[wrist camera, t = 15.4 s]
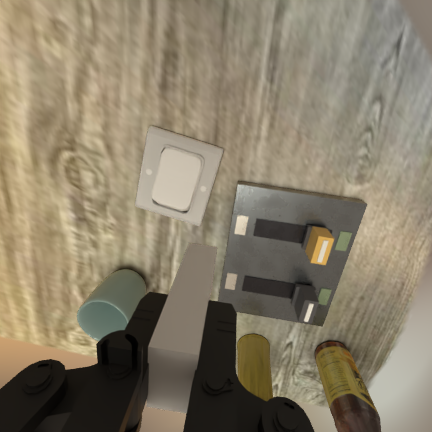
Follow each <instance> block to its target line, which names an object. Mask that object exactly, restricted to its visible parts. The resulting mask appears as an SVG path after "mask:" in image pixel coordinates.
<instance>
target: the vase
mask: <svg viewBox="0 0 432 432" xmlns="http://www.w3.org/2000/svg"><path fill="white" fill-rule="evenodd" d="M237 349H238V379H239V381H240V383H241V384H242V385H243V386H244V387H245V388H246V389H247V390H248V391H249V392H251V393H252V394H254V395H256V396H257V397H259V398H261V399H263V400H265V401H268V400H269V399H271V398H273V391H272V378H271V367H270V345H269V343H268V341H267V340H266V339H265V338H264V337H262V336H260V335H256V334H249V335H245V336H243V337H242V338H241V339H240V340H239V341H238V344H237Z"/></svg>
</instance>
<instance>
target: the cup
mask: <svg viewBox="0 0 432 432" xmlns="http://www.w3.org/2000/svg"><path fill="white" fill-rule="evenodd" d="M145 295H146V285H145V282H144V280H143V279H142V277H141V276H140V275H139V274H138V273H136V272H135V271H133V270H130V269H121V270H118V271H116V272H113V273H112V274H110V275H109V276H108V277H106V278H105V279H104V280H103V281H102V282H101V283H100V284H99V285H98V286H97V287H96V288H95V290H94V291H93V292H92V293H91V294H90V295H89V297H88V298H87V299H86V300H85V301H84V303H83V304H82V305H81V307H80V308H79V310H78V313H77V320H78V323H79V325H80V327H81V328H82V329H83V331H84V332H85V333H86V334H88V335H89V336H90V337H92V338H93V339H95V340H97V341H100V340H101V339H102V338H103V337H104V336H106V335H107V334H109V333H111V332H115V331H118V330H125V328H126V326H127V324H128V322H129V320H130V318H131V317H132V315H133V313H134V311H135V310H136V307H137V305H138V303H139V301H140V300H141V299H142V298H143V297H144V296H145Z"/></svg>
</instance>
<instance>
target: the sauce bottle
mask: <svg viewBox="0 0 432 432" xmlns="http://www.w3.org/2000/svg"><path fill="white" fill-rule="evenodd" d="M315 359H316V364H317V367H318V371H319V374H320V378H321V381H322V384H323V388H324V391H325V394H326V398H327V401H328V404H329V408H330V411H331V414H332V416H333V418H334V421H335V426H336V428H337V431H338V432H381V425H380V417H379V414H378V412H377V410H376V408H375V406H374V404H373V401H372V399H371V397H370V395H369V393H368V390H367V388H366V386H365V384H364V382H363V379H362V377H361V375H360V373H359V371H358V369H357V367H356V364H355V362H354V360H353V358H352V356H351V354H350V353H349V351H348V350H347V348H346V347H345V346H344V345H343V344H341V343H339V342H332V341H330V342H325V343H323V344H320V345H319V346H318V347H317V349H316V352H315Z"/></svg>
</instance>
